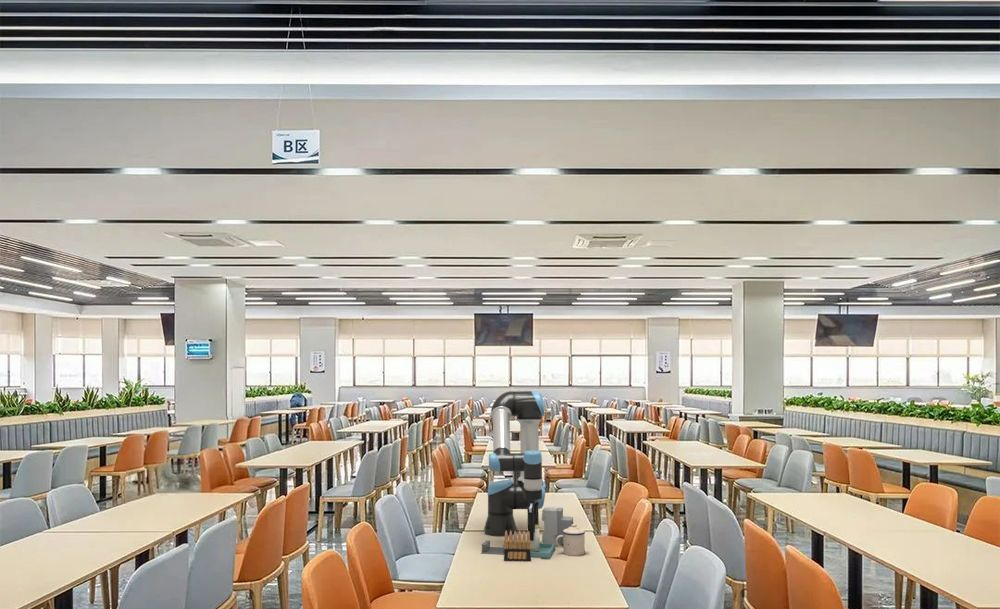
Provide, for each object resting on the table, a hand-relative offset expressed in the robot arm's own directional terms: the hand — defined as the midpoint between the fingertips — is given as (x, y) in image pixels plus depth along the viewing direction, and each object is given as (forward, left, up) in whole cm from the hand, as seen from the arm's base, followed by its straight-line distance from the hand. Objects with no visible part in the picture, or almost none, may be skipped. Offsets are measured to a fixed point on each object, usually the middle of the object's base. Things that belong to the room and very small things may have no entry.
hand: (533, 546), depth 307 cm
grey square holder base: (0, -16, -3) cm, 16 cm away
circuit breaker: (-17, +8, -3) cm, 19 cm away
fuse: (0, 0, -1) cm, 1 cm away
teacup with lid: (-3, +15, -3) cm, 16 cm away
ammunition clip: (+13, -4, -3) cm, 14 cm away
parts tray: (0, 0, -3) cm, 3 cm away
